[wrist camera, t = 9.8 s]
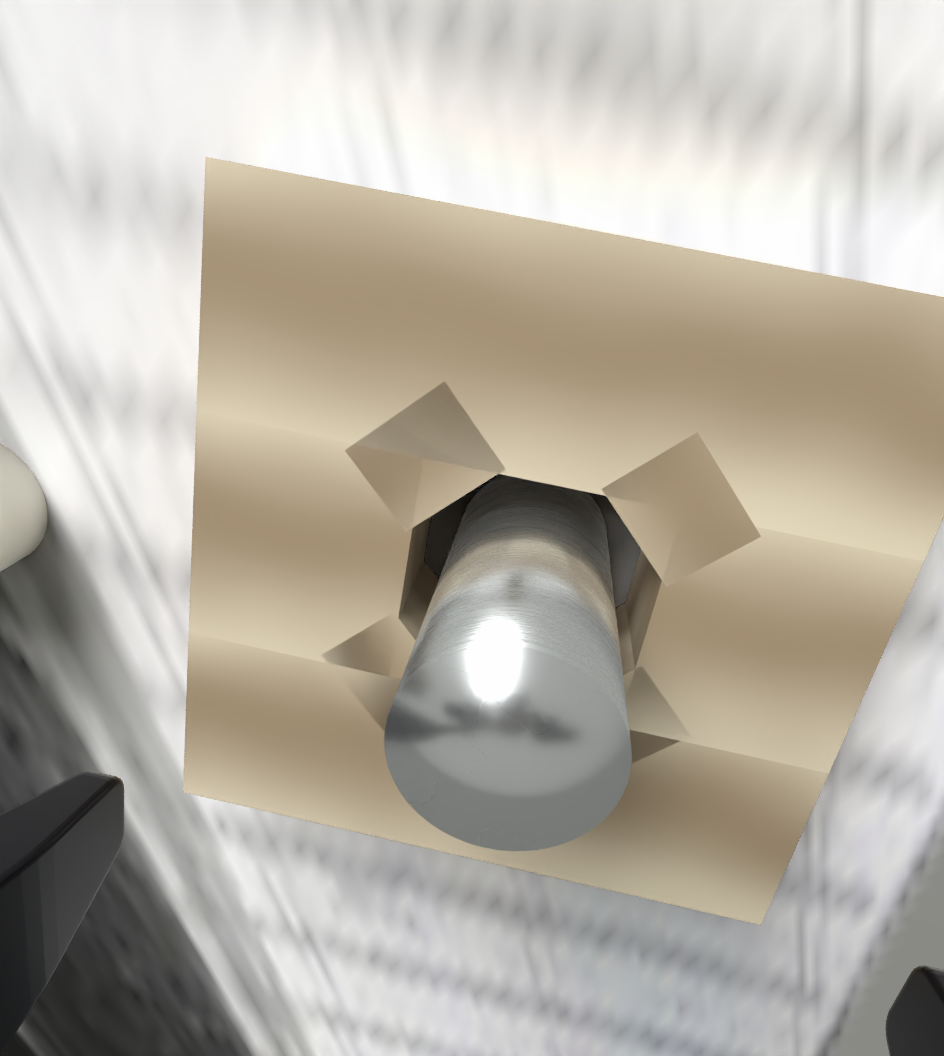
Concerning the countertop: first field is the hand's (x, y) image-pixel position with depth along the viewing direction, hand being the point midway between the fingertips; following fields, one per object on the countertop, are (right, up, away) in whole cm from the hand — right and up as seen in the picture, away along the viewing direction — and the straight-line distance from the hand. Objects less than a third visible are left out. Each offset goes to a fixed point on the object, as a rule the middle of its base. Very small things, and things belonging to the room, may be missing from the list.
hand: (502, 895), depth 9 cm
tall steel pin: (+1, +4, +10) cm, 10 cm away
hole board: (+1, +4, +10) cm, 10 cm away
